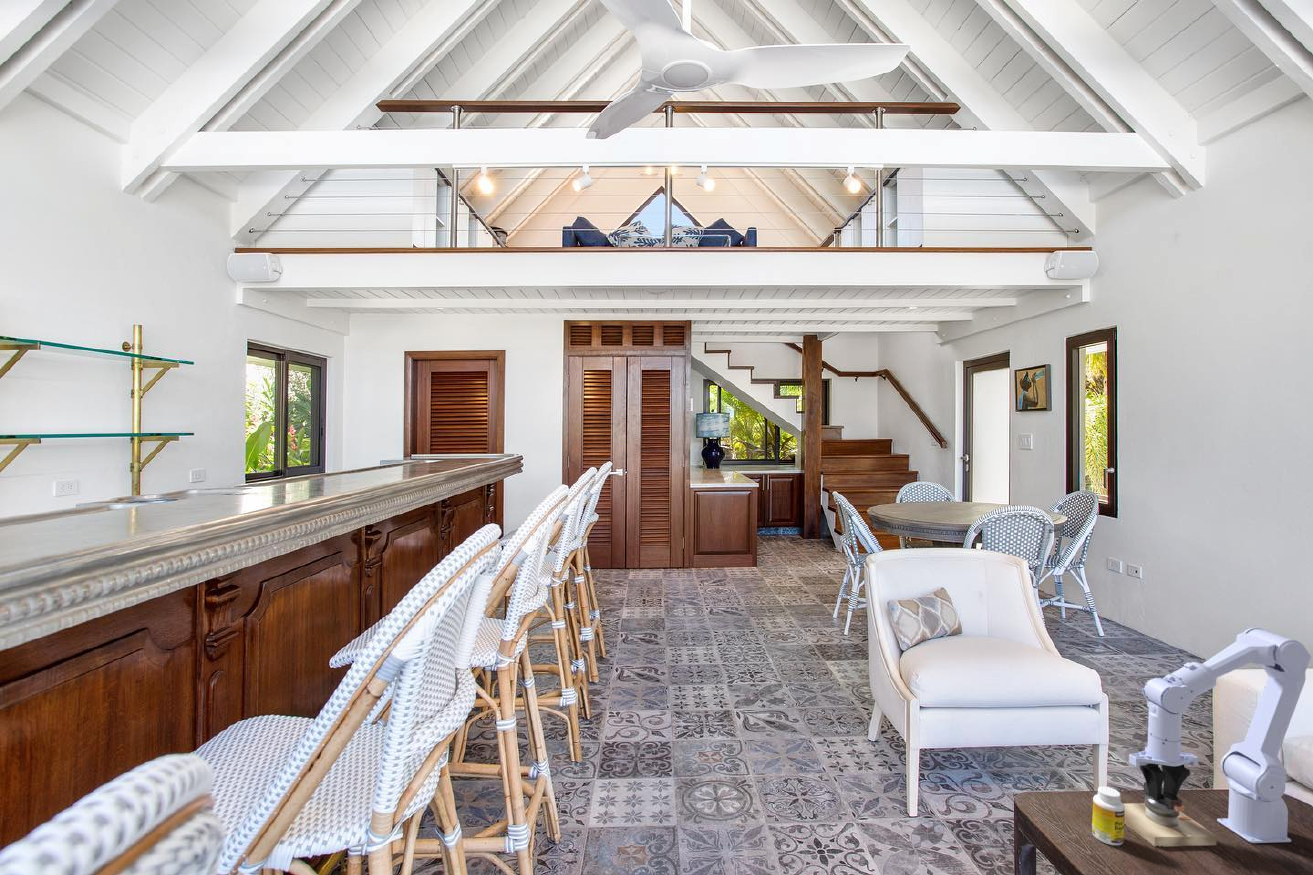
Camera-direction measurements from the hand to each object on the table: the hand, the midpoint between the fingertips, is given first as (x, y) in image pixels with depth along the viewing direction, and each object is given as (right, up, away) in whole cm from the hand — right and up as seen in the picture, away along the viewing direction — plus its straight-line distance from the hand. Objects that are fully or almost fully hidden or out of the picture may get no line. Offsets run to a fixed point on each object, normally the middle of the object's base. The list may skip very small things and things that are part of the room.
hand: (1162, 797), depth 141 cm
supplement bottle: (-15, -7, -4) cm, 17 cm away
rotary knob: (0, -3, -1) cm, 3 cm away
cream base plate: (0, -7, 0) cm, 7 cm away
